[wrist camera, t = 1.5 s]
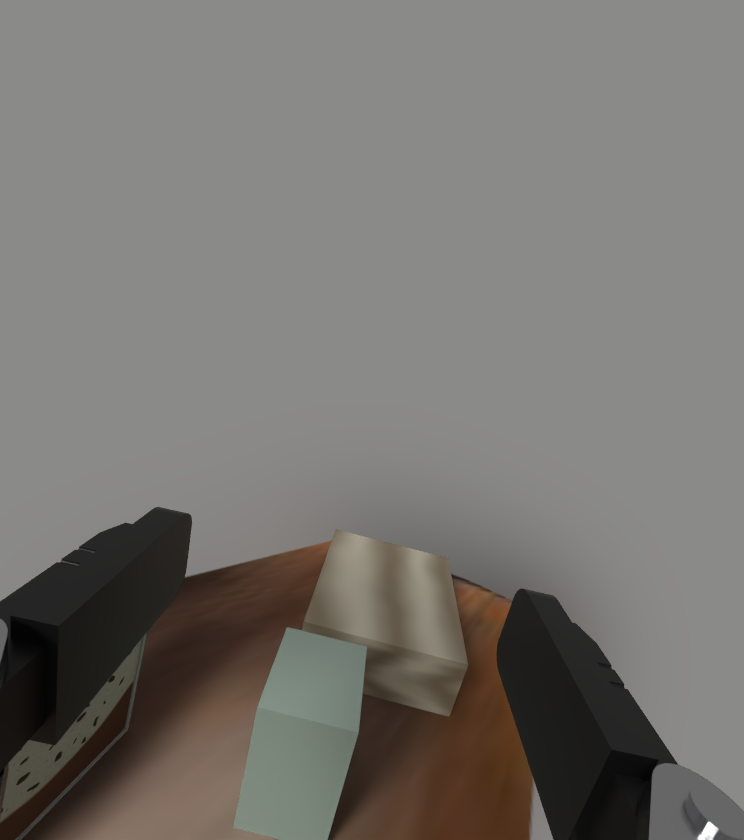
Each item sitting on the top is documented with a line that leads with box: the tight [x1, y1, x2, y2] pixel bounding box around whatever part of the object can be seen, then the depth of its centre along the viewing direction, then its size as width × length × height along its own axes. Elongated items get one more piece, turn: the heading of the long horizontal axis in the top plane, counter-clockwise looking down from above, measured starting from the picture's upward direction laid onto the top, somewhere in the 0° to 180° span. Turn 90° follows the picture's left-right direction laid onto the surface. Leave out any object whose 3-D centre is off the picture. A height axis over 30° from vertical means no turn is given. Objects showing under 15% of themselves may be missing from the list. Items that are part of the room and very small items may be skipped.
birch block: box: [302, 530, 468, 717], centre depth 39 cm, size 14×15×6 cm
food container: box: [0, 621, 156, 840], centre depth 21 cm, size 12×6×10 cm, turn 161°
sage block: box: [233, 627, 367, 840], centre depth 24 cm, size 6×6×10 cm
